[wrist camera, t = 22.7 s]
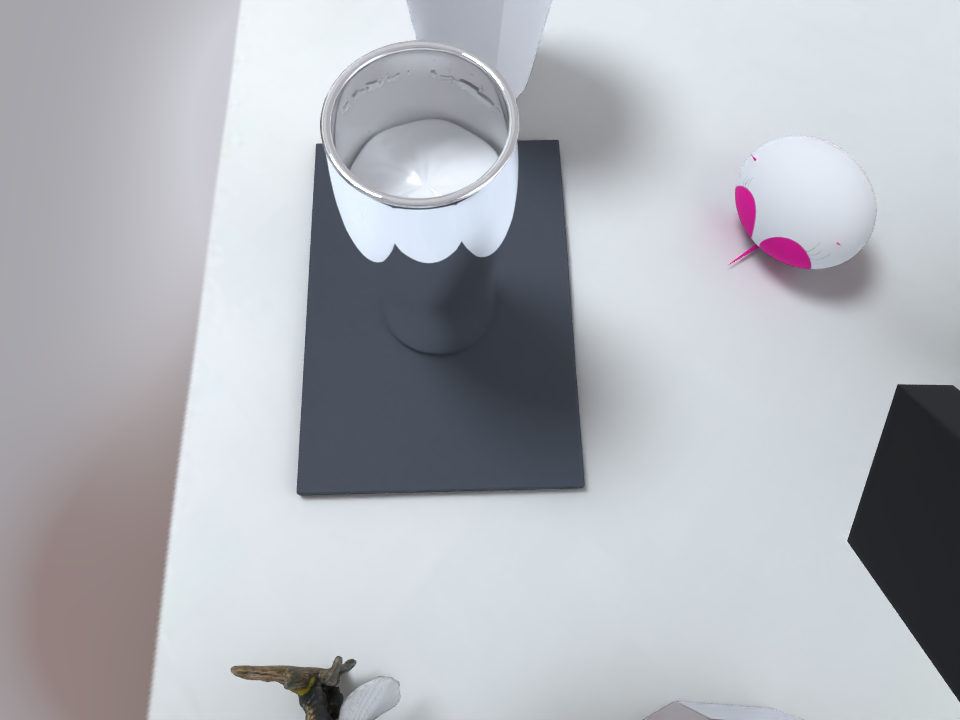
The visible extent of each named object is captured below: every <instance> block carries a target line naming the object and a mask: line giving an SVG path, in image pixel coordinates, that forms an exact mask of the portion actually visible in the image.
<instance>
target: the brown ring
mask: <svg viewBox="0 0 960 720" xmlns="http://www.w3.org/2000/svg"><path fill="white" fill-rule="evenodd" d="M643 720H803V719H801V718H798V717H795V716H792V715H790V714H787V713H784V712H781V711H779V710H776V709H773V708H764V707H750V706H736V705H723V704H709V703H696V702H682V701H676V702H673V703H671V704H669V705H667V706H666V707H664V708H662V709H660V710H659V711H657V712H655V713H653V714H652V715H650V716H648V717H646V718H645V719H643Z"/></svg>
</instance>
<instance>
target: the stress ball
mask: <svg viewBox="0 0 960 720" xmlns="http://www.w3.org/2000/svg"><path fill="white" fill-rule="evenodd" d="M735 200H736V207H737V211H738V215H739V218H740V220H741V222H742V224H743V226H744V228H745V230H746V232H747V233H748V235H749V236H750V237H751V239H752V240H753V241H754V242H755V243H756V245H754V246H753V247H752V248H750V249H749V250H748V251H746V252H745V253H743V254H742V255H741V256H739V257H738V258H737V259H735V260H734V261H733V262H735V261H736V260H738V259H740V258H741V257H743V256H745V255H747V254H748V253H750V252H752V251H753V250H755V249H757V248H759V247H760V248H761V249H762V250H763V251H765V252H766V253H767V254H768V255H770V256H772V257H773V258H775V259H777V260H779V261H781V262H783V263H785V264H788V265H791V266H794V267H798V268H804V269H824V268H829V267H833V266H836V265H839V264H842V263H844V262H846V261H848V260H849V259H851V258H852V257H854V256H855V255H856V254H857V253H858V252H859V251H860V250H861V249H862V248H863V247H864V246H865V244H866V243H867V241H868V240H869V238H870V236H871V234H872V232H873V229H874V226H875V221H876V213H877V208H876V199H875V194H874V191H873V188H872V185H871V183H870V181H869V179H868V177H867V175H866V173H865V172H864V170H863V169H862V168H861V166H860V165H859V164H858V163H857V162H856V161H855V160H854V158H852V157H851V156H850V155H849V154H848V153H847V152H845V151H844V150H842V149H841V148H839V147H837V146H835V145H834V144H832V143H830V142H827V141H825V140H822V139H819V138H815V137H810V136H798V135H797V136H786V137H781V138H777V139H774V140H772V141H770V142H767V143H765V144H764V145H762V146H760V147H759V148H758V149H757V150H755V151H754V152H753V153H752V154H751V155H750V156H749V157H748V159H747V160H746V161H745V163H744V165H743V166H742V168H741V170H740V173H739V175H738V179H737V183H736V189H735ZM733 262H731V263H733ZM731 263H730V264H731ZM727 266H728V265H727Z"/></svg>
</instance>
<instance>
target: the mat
mask: <svg viewBox="0 0 960 720" xmlns="http://www.w3.org/2000/svg"><path fill="white" fill-rule="evenodd" d="M518 145H519V183H518V198H517V205H516V210H515V216H514V221H513V226H512V229H511V232H510V235H509V237H508V240H507V243H506V246H505V249H504V251H503V253H502V255H501V257H500V259H499V261H498V263H497V265H496V267H495V269H494V271H493V273H492V278H493V281H494V284H495V288H496V296H497V304H496V311H495V315H494V318H493V320H492V322H491V324H490V326H489V328H488V329H487V331H486V332H485V333H484V335H483V336H482V337H481V338H480V339H479V340H478V341H476V342H475V343H474V344H472V345H471V346H469V347H467V348H465V349H463V350H461V351H458V352H455V353H450V354H442V355H434V354H427V353H422V352H419V351H416V350H414V349H412V348H410V347H408V346H406V345H405V344H404V343H402V342H401V341H400V340H399V339H398V338H396V336H395V335H394V334H393V333H392V332H391V330H390V329H389V327H388V325H387V323H386V321H385V318H384V315H383V312H382V306H381V295H382V288H383V286H382V285H381V284H380V283H379V282H378V280H377V279H376V278H375V277H374V275H373V274H372V273H371V271H370V270H369V269H368V268H367V266H366V265H365V264H364V262H363V261H362V259H361V257H360V256H359V254H358V253H357V251H356V249H355V248H354V246H353V245H352V243H351V241H350V239H349V237H348V234H347V232H346V229H345V227H344V224H343V222H342V219H341V217H340V214H339V211H338V207H337V204H336V200H335V196H334V193H333V189H332V184H331V179H330V174H329V169H328V163H327V157H326V152H325V150H324V147H323V144H316V156H315V174H314V192H313V210H312V228H311V246H310V264H309V281H308V299H307V317H306V335H305V353H304V371H303V389H302V407H301V424H300V442H299V460H298V478H297V494H298V495H336V494H375V493H414V492H453V491H492V490H531V489H570V488H583V487H584V472H583V458H582V445H581V432H580V418H579V405H578V391H577V378H576V365H575V351H574V338H573V325H572V311H571V298H570V285H569V271H568V258H567V245H566V231H565V218H564V205H563V191H562V178H561V165H560V151H559V141H558V140H530V141H518Z"/></svg>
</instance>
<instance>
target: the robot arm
mask: <svg viewBox="0 0 960 720" xmlns="http://www.w3.org/2000/svg"><path fill="white" fill-rule="evenodd" d="M847 541H848V543H849V544H850V546H851V547H852V549H853V550H854V551H855V553H856V554H857V556H858V557H859V559H860V560H861V561H862V563H863V564H864V566H865V567H866V569H867V570H868V571H869V573H870V574H871V576H872V577H873V579H874V580H875V582H876V583H877V584H878V586H879V587H880V589H881V590H882V592H883V593H884V594H885V596H886V597H887V599H888V600H889V602H890V603H891V604H892V606H893V607H894V609H895V610H896V612H897V613H898V614H899V616H900V617H901V619H902V620H903V622H904V623H905V624H906V626H907V627H908V629H909V630H910V632H911V633H912V634H913V636H914V637H915V639H916V640H917V642H918V643H919V644H920V646H921V647H922V649H923V650H924V652H925V653H926V654H927V656H928V657H929V659H930V660H931V662H932V663H933V665H934V666H935V667H936V669H937V670H938V672H939V673H940V675H941V676H942V677H943V679H944V680H945V682H946V683H947V685H948V686H949V687H950V689H951V690H952V692H953V693H954V695H955V696H956V697H957V699H958V700H959V702H960V390H958V389H957V388H956V387H954V386H953V385H903V384H898V385H897V388H896V391H895V394H894V397H893V400H892V404H891V407H890V410H889V413H888V416H887V419H886V422H885V425H884V428H883V432H882V435H881V438H880V441H879V444H878V447H877V450H876V453H875V456H874V459H873V463H872V466H871V469H870V472H869V475H868V478H867V481H866V484H865V487H864V491H863V494H862V497H861V500H860V503H859V506H858V509H857V512H856V515H855V519H854V522H853V525H852V528H851V531H850V534H849V537H848V540H847Z"/></svg>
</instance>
